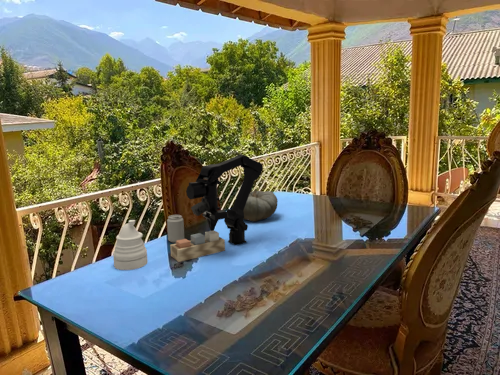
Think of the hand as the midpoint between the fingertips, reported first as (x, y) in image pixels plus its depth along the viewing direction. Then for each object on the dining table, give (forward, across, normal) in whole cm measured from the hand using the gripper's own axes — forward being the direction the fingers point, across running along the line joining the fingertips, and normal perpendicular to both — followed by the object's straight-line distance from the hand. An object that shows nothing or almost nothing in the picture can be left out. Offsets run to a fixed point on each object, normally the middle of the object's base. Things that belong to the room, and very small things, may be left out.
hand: (211, 230), depth 164 cm
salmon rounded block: (+7, 0, -14) cm, 15 cm away
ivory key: (+6, 0, 0) cm, 6 cm away
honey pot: (+9, -6, -34) cm, 36 cm away
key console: (+9, 0, -7) cm, 11 cm away
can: (+9, -21, -8) cm, 24 cm away
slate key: (+6, 0, -7) cm, 9 cm away
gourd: (+9, -30, +44) cm, 54 cm away
